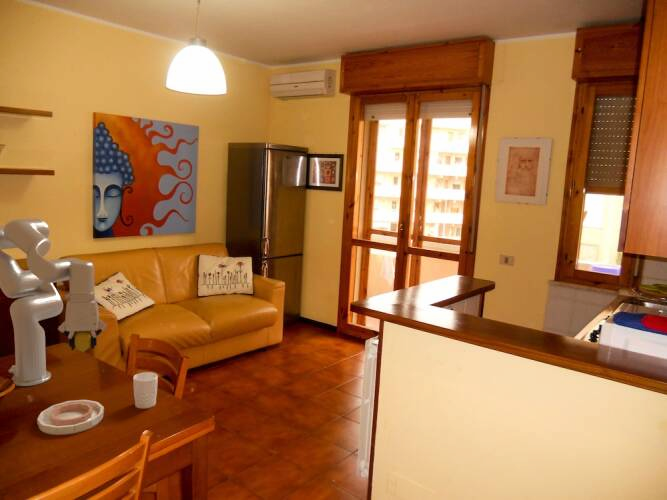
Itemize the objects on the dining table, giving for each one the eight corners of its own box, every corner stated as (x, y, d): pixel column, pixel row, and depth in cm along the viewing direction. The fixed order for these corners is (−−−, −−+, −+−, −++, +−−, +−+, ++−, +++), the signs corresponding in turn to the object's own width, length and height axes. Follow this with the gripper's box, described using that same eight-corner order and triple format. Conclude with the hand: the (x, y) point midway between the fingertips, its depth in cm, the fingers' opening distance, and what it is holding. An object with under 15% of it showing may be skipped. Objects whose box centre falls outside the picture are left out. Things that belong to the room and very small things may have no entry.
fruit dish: (24, 429, 149) (23, 420, 149) (68, 403, 167) (67, 395, 166) (75, 439, 146) (75, 429, 145) (115, 411, 163) (115, 403, 163)
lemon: (95, 349, 174) (95, 328, 173) (86, 355, 168) (85, 332, 167) (80, 348, 174) (80, 326, 173) (70, 354, 169) (70, 331, 168)
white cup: (162, 401, 172) (162, 374, 171) (147, 411, 165) (147, 382, 163) (144, 397, 174) (144, 370, 173) (128, 406, 167) (127, 378, 166)
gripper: (51, 300, 162) (53, 353, 165) (108, 299, 168) (109, 350, 170) (56, 295, 169) (57, 346, 172) (110, 294, 175) (111, 343, 177)
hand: (83, 347), depth 171 cm, fingers closed on lemon, 5 cm apart
